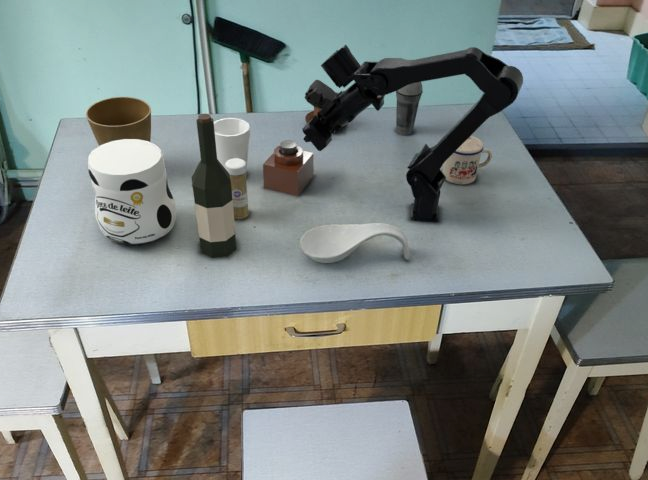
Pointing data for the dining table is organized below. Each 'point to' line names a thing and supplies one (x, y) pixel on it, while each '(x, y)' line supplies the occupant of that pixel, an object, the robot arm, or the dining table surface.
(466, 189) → the dining table surface
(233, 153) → the foam cup
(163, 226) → the milk container
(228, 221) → the wine bottle
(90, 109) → the plant pot
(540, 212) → the dining table surface
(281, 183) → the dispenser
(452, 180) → the teacup with lid
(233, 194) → the sprinkles bottle
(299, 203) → the dining table surface
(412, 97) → the beverage cup
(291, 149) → the dark grey short cylinder
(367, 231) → the spoon rest
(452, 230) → the dining table surface
